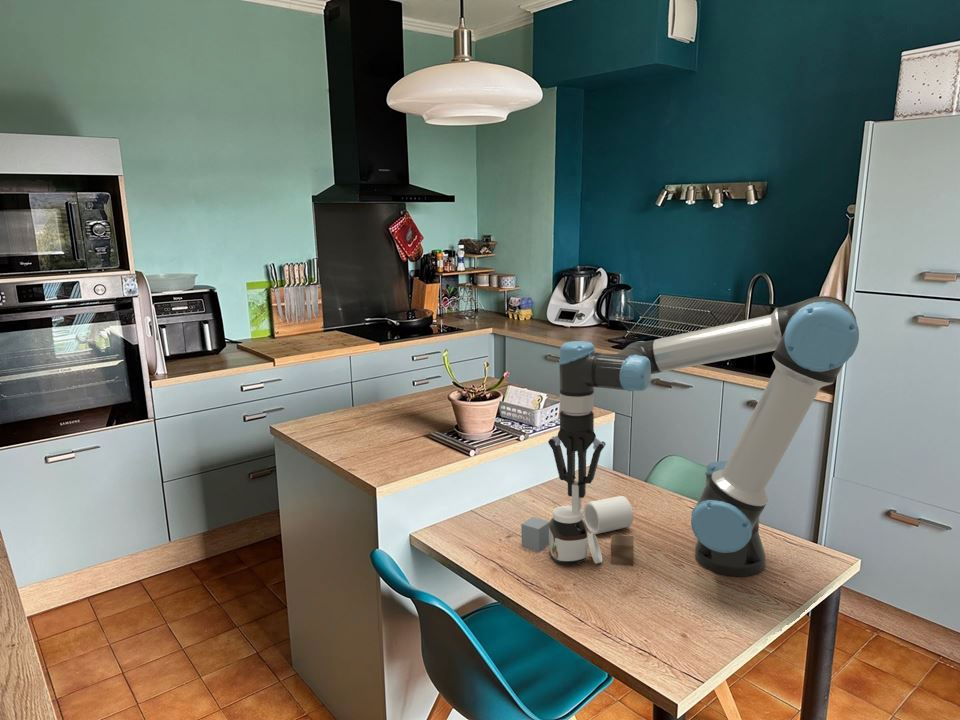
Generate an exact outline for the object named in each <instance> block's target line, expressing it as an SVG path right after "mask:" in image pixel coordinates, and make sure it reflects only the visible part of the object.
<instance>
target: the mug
mask: <svg viewBox="0 0 960 720" xmlns="http://www.w3.org/2000/svg"><path fill="white" fill-rule="evenodd" d="M582 512H583V519H584V520H583V521H584V523H585V526H586V529H587V530H588V531H589V532H590V533H594V534H595V535H598V534H602V533H603V534H604V533H607V532H612V531H613V532H614V531H616V530H621V529H625V528H629V527H631V526H632V525H633V522H634V511H633V508H632V504H631V503H630V501H629V500H628V498H627V497H626V496H625V495H617V496H613V497H607V498H603V499H598V500H592V501H588V502H586V503H585V504H584V507H583V509H582Z"/></svg>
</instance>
